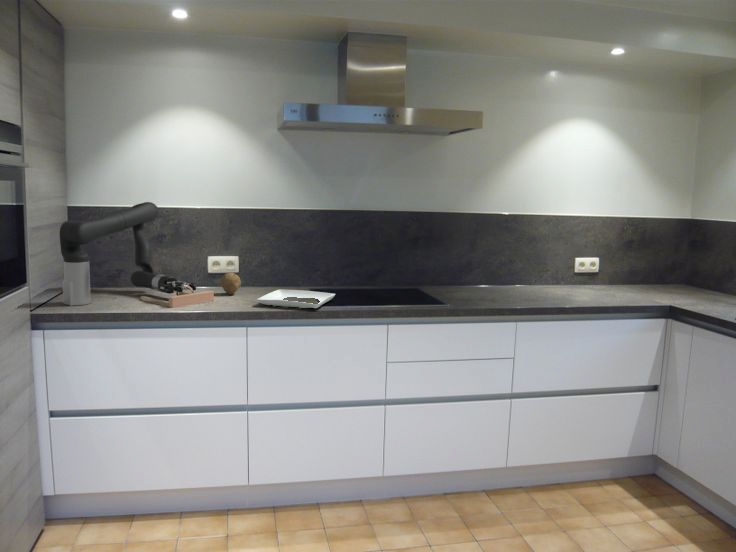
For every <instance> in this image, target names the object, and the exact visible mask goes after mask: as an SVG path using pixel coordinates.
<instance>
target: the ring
mask: <svg viewBox="0 0 736 552" xmlns="http://www.w3.org/2000/svg"><path fill="white" fill-rule="evenodd" d="M180 285H181V284H180ZM180 287H183V288H184V287H187V288H189V289H191V290H190V291H191V293H192V294H193V293H195V290H193V289H192V288H191V287H190V286H188V285H186V283H183V284H182V285H181V286H180ZM189 289H188V290H189ZM175 293H176V294H175V296H179V292H177V291H176V292H175Z"/></svg>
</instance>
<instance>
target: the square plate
mask: <svg viewBox="0 0 736 552" xmlns="http://www.w3.org/2000/svg"><path fill="white" fill-rule="evenodd" d="M335 296H336V293H331V292H323V291H322V292H320V291H311V290H302V289H301V290H298V289H277V290H274V291H272V292H269V293H266V294H264V295H262V296H260V297H259V298H256V300H257V301H258V302H259V303H261V304H263V305H266V306H270V305H274V306H273V307H275V306H291V307H306V308H314V309H317V308H319V307H321V306H322V305H324V304H325V303H327V302H329V301H331V300H332V299H333V298H334V297H335ZM287 297H297V298H315V299H318V300H319V301H320V302H319V303H318V304H313V303H306V302H298V301H288V300H283V299H284V298H287Z"/></svg>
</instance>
